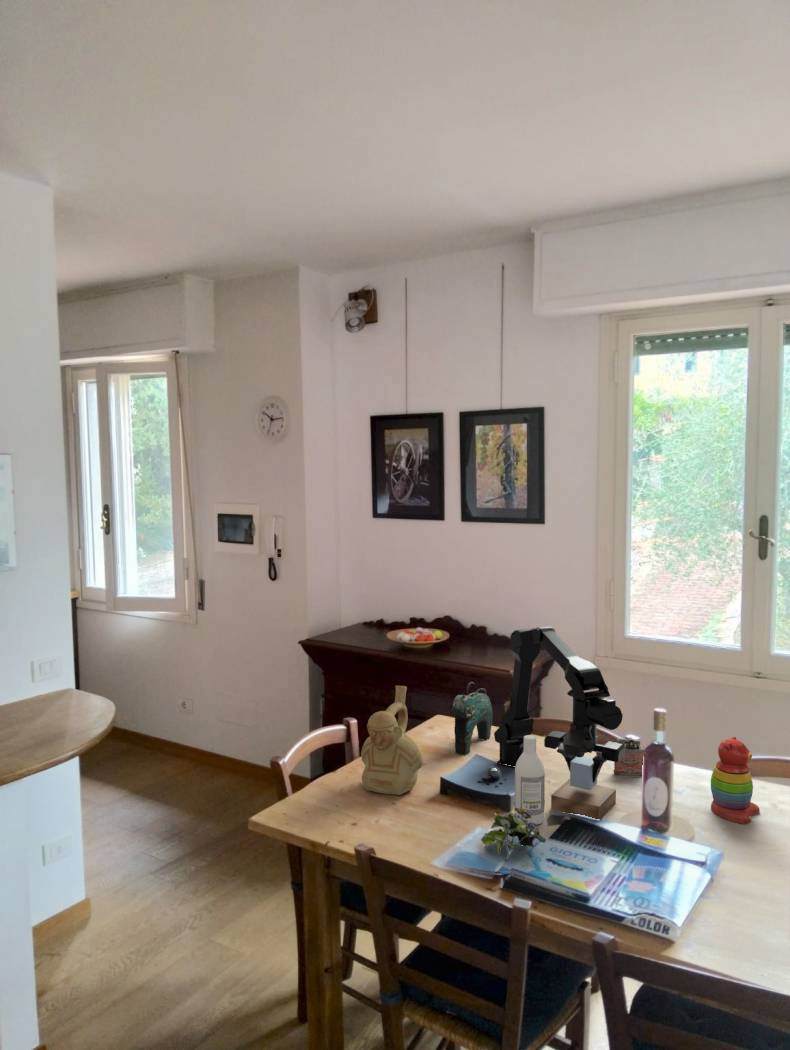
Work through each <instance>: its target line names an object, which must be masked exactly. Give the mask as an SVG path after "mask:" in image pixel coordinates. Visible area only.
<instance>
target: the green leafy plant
mask: <svg viewBox="0 0 790 1050" xmlns="http://www.w3.org/2000/svg"><path fill="white" fill-rule="evenodd" d="M515 810H516V811H517V812H518V813H519V814H520V815H522V817H520V816H519V815H518V816H517V815H515V812H508V813H507V812H504V811H502V812H503V813H502V814H500V815H498V814H497V813H496V812H495V813H494V814H493V817H494V818H493V820H494V822H493V823H492V824H491V829H493V830H490V831H488V833H486V832H485V833H484V835H483V836H482V837H481V839H480V840H481V841H482V844H483V845H484V846H485V847H487V846H488V845H489V846H490V845H492V844H497V851H496V852H497V853H498V855H499V856H501V853H502V847H503V846H504V845H506V848H505V849H506V853H507V855H506V858H507V857H508V858H509V857H510V855H511V854H512V853H513V852H514V851H515V850H516V849H517V847H518V845H520V846H521V845H523V846H526V847H530V848H534V842H533V841H535V840H538V841H539V842H540V843H543V844H544V843H546V842H547V838H545V837H543V836H541V834H540V829H539V828H538V827H535V826H537V825H536V824H534V823H532V822H530V823H528V820H526V819H527V818H532V817H531V815H530V814H529V813H528V812H525V811H524V810H523V809H521V808H520V809H518V808H515V807H514V811H515ZM523 818H525V819H524V820H523ZM495 828H499V829H495ZM501 828H503V829H501ZM503 830H504V831H503ZM509 837H511V838H512V840H510V838H509ZM515 837H517V839H518V841H517V843H515V844H514V838H515Z"/></svg>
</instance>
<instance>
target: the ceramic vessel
mask: <svg viewBox="0 0 790 1050" xmlns="http://www.w3.org/2000/svg"><path fill="white" fill-rule="evenodd" d="M407 689H408V687H407V686H405V685H395V697H394V702H393V703H392V704H390V705H389V706H388V707H387V708H386V709H385V710H381V711H380V710H379V711H376V712H374V713H373V714H372V715H370V717H369V719H368V721H367V724H366V728H367V732H368V734H369V736H368V737H367V738H366V740H365V741H364V743H363V745H362V748H361V750H360V751H361V752H360V755H361V756H360V757H361V761H362V763H363V764H364V769H363V770H362V774H361V775H362V776H361V782H362V783H361V784H362V785H363V787H364V788H365V789H366V790H367V791H369V792H370V791H371V792H374V793H379V794H387V795H396V796H400V795H402V794H404V793H407V792H408V791H410V790H412V789H413V788H414V787H415V786H416V783H417V781H418V775H419V772H418V771H419V770H420V769H421V768H422V767H423V766H424V761H423V757H422V756H423V755H422V753H421V751H420V748H419V747H418V745H417V743H416V742H415V741H414V740H413V739H412V738H411V737H410V736H409V735H407V734H406V733H405V732H406V730H407V726H408V718H409V717H408V708H407V706H406V697H407V696H406V693H407ZM396 714H398V717H397V718H396V717H395V716H396Z"/></svg>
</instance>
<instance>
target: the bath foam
mask: <svg viewBox="0 0 790 1050" xmlns="http://www.w3.org/2000/svg"><path fill="white" fill-rule="evenodd" d="M545 776H546V772H545V765H544V763H543V761H542V759H541V757H540V756H539V754H538V752H537V736H535V735H532V734H531V735H526V736H524V752H523V753H522V754H521V756H520V757H519V759H518V761H517V763H516V766H515V768H514V813H515V815H517V816H518V815H519V816H520V817H522V815H520V814H519V813H518V812H517V811H516V810H515V808H518V809H520V808H521V809H523V810H524V811H525V812H528V813H529V814H530V815H531V817H532V818H527V819H526V820H528V823H530V822H532V823H534V824H536V825H535V826H537V825H541V824H542V823H543V822H544V820H545V794H546V793H545V790H546V788H545V786H546V785H545V784H546V783H545V781H546V780H545V779H546V777H545ZM524 819H525V818H523V820H524Z"/></svg>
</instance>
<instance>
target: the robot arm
mask: <svg viewBox="0 0 790 1050" xmlns="http://www.w3.org/2000/svg"><path fill="white" fill-rule="evenodd" d="M509 644H510V645H509V649H510V652H511V654H512V656H513V658H514V664H513V672H512V680H511V681H512V683H511V689H510V690H511V691H510V699H509V700H510V701H509V706H508V708H507V710H506V711H505V712H504V713H503V715H502V718H501V721H500V726H499V727H497V729H496V730H495V731H494V733H493V736H494V737H493V738H494V741H495V742H496V743H498V744H499V759H498V760H496V764H497V763H501V764H507V765H511V766H516V763H517V761H518V759H519V757H520V756H521V754H522V753H523V752H524V736H526V735H532V733H533V732H534V723H535V722H534V721H535V720H534V718H533V717H531V714H530V713H529V711H528V708H529V701H530V700H529V699H530V692H531V691H530V690H531V682H532V674H533V666H534V661H535V660H536V659H537V658H538V656H539V655H540V653H541V651H542V648H543V649H544V650H545V651H546V652H547V653H548V655H549V656H550V657H551V658H552V659H553V660H554V661H555V662H556V664H557V665H558V666H560V668H561V669H562V671H564V680H566V682H567V684H568V685H569V686H570V688H571V689H570V690H569V691H568V692H567V696H569V697H572V722H570V726H569V731H568V732H564V731H559V730H552V731H551V732H549V733H548V734H546V736H545V737H544V739H543V742H544V743H543V746H544V747H545V748H548V749H552V750H556V749H557V750H556V752H557V753H558V754H561V755H562V757H563V758H564V760H565V762H566V765H567V767H568V771H569V772H570V762H571V761H572V760H573V759H574V758H575V757H585V754H587V753H589V754H592V752H595V755H594V757H592V759H593V762H594V765H593V776H592V778H593V783H595V782H596V779H597V780H598V777H599V775H600V772H601V770H602V768H603V765H604V764H605V763H606V762H607V761H609V762H613V763H614V762H619V761H620V760H621V759H622V758H623V757H624V756H625V747H624V745H625V744H624V745H623V744H620V743H617V742H616V741H615V742H614V741H607V742H606V743H605V744H599V743H597V742H598V739H599V736H597V726H600V727H602V728H604V729H607V730H608V731H613V730H616V729H618V728H619V727H620V725H621V723H622V721H623V713H622V710H621V708H620V707H619V706H617V705H616V704H617V703H616V700H615V699H612V698H609V697H611V694H610V691H609V688H608V686H607V684H606V681H605V679H604V677H603V674H602V672H601V670H600V669H599V667H598V666H596V665H595V664H593V663H592V662H591V661H589V660H587V659H585V658H581V657H580V656H578V655H577V654H576V653H575V652H574V651H573V650H572V649H571V647H570V646H569V645H568V644H566V642H564V640H563V639H562V638H561V637H560V636H559V635H558V634H557V633H556V630H555V628H554V627H552V626H550V625H549V626H548V625H546V626H539V627H538V626H537V627H535V628H534V627H532V628H525V629H523V628H522V629H516V630H514V631H512V632H511V634H510V637H509ZM591 690H592V691H591ZM501 764H500V765H501Z"/></svg>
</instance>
